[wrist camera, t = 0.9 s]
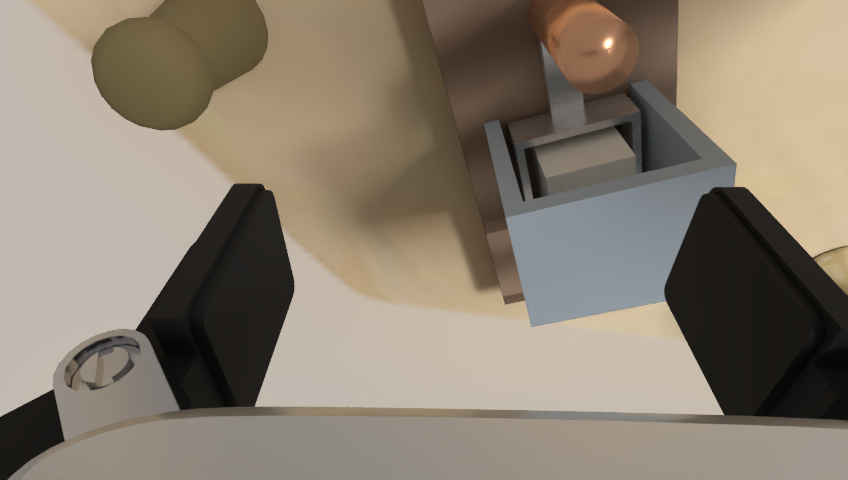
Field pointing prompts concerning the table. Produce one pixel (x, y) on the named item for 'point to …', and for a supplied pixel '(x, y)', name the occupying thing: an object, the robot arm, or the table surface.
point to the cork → (177, 59)
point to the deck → (524, 89)
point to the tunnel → (611, 219)
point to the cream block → (582, 161)
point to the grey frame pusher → (579, 78)
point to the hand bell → (836, 266)
